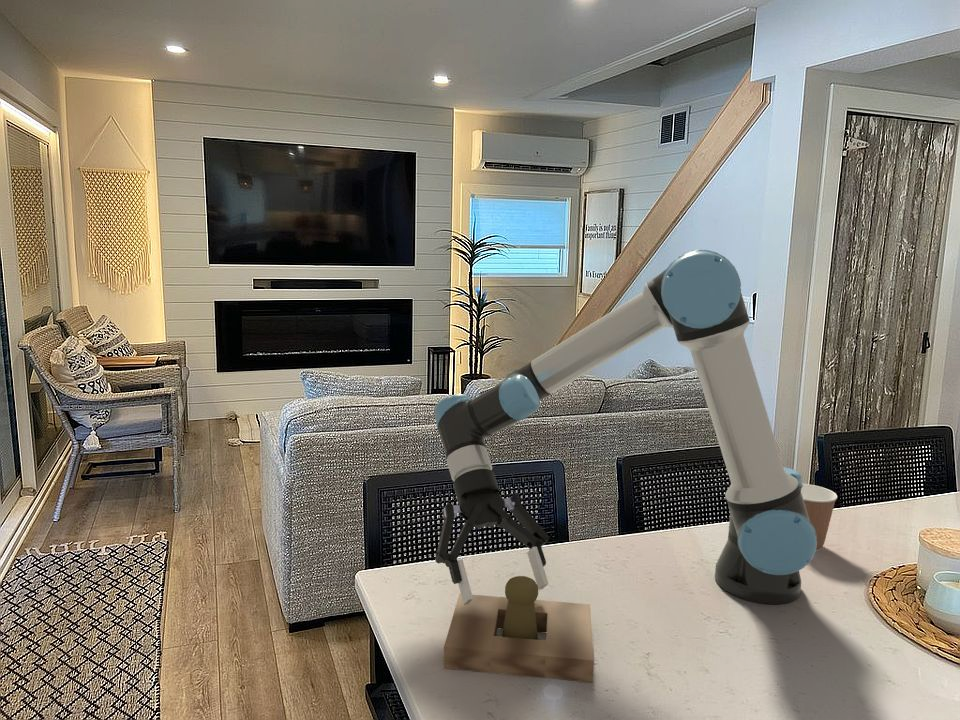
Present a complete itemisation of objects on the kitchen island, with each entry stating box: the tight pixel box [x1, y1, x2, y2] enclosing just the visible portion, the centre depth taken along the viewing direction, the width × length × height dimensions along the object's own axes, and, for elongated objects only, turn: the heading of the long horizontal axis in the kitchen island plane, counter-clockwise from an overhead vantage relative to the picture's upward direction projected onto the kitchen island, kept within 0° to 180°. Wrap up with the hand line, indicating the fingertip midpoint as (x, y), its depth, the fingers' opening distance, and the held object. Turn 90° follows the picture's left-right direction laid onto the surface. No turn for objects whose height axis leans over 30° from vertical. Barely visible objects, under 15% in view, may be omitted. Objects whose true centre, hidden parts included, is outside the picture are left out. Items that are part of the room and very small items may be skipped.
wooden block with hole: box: [443, 593, 595, 683], centre depth 112 cm, size 22×16×4 cm
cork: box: [501, 575, 539, 640], centre depth 111 cm, size 6×6×11 cm
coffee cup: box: [801, 483, 838, 553], centre depth 151 cm, size 10×10×12 cm
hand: (506, 594), depth 115 cm, fingers open, 13 cm apart
